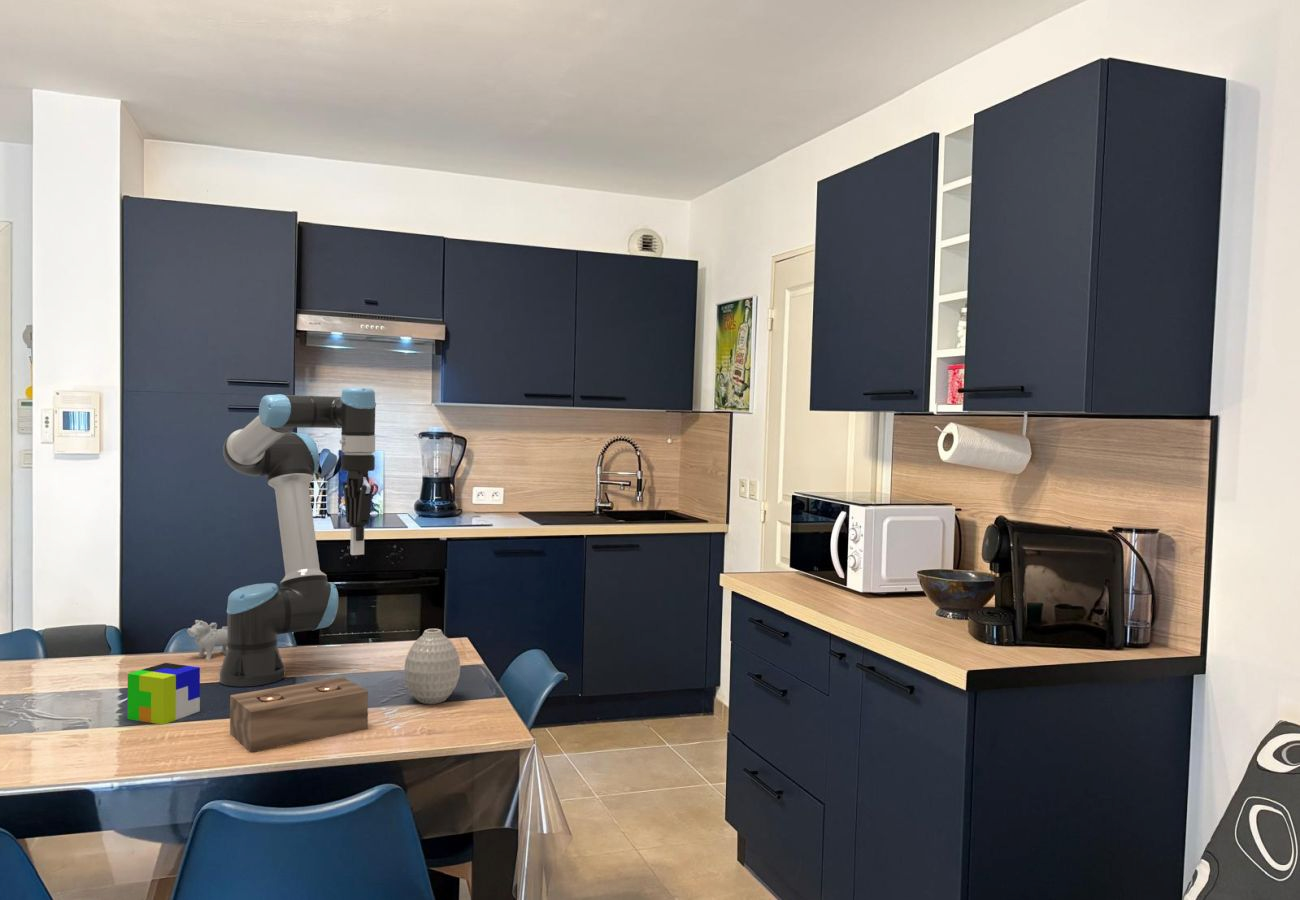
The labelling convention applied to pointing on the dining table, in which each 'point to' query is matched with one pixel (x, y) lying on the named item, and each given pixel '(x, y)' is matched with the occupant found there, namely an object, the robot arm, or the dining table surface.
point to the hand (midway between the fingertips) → (357, 554)
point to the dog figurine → (208, 637)
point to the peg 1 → (270, 698)
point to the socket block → (297, 713)
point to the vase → (432, 667)
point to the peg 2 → (327, 688)
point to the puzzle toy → (163, 693)
